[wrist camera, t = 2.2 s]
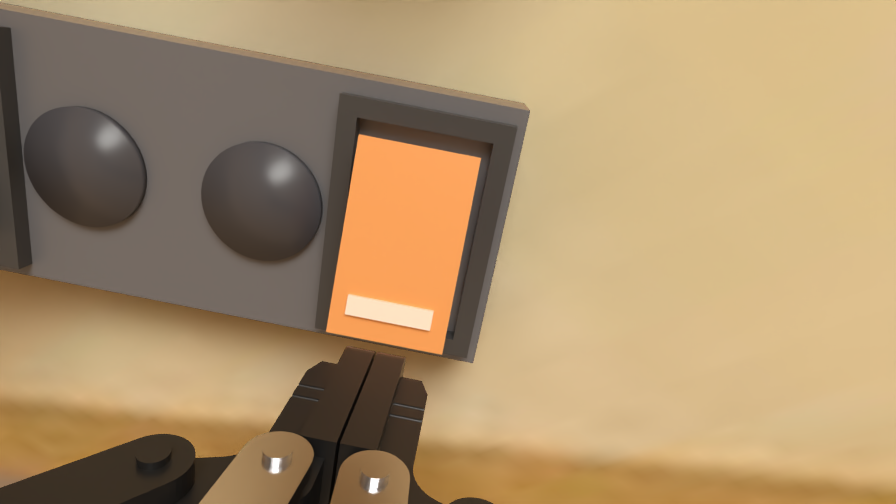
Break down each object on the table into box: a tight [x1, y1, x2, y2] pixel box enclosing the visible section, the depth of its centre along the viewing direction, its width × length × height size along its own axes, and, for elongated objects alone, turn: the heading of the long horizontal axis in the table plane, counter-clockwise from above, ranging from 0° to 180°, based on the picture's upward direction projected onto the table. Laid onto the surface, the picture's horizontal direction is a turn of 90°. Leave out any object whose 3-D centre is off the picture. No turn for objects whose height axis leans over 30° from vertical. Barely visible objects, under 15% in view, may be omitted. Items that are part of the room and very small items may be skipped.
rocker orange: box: [326, 134, 481, 355], centre depth 17 cm, size 6×4×1 cm, turn 170°
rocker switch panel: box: [0, 3, 530, 363], centre depth 19 cm, size 9×22×4 cm, turn 80°
